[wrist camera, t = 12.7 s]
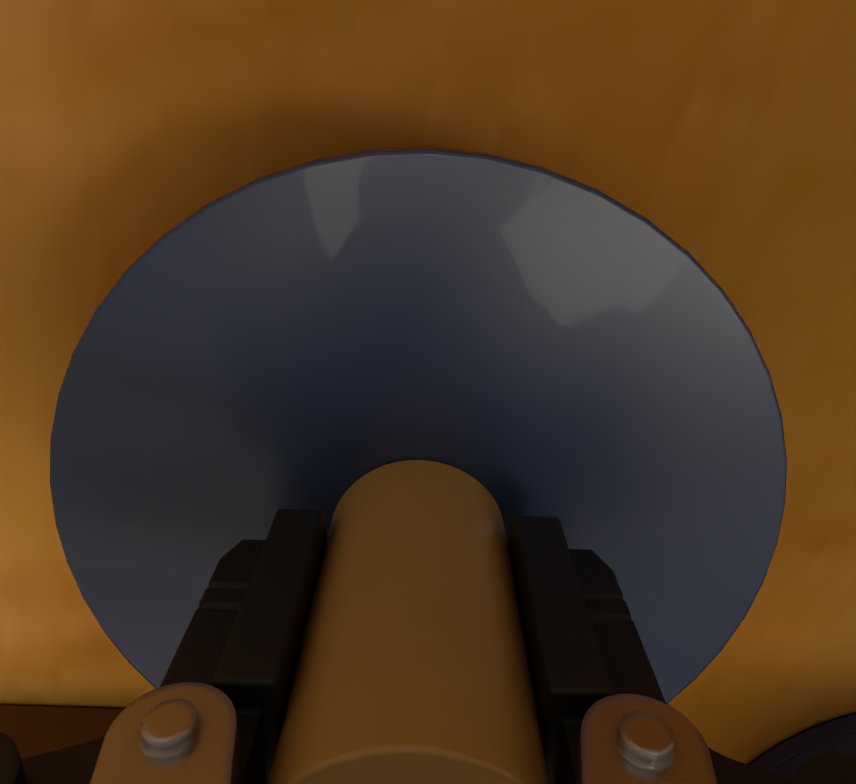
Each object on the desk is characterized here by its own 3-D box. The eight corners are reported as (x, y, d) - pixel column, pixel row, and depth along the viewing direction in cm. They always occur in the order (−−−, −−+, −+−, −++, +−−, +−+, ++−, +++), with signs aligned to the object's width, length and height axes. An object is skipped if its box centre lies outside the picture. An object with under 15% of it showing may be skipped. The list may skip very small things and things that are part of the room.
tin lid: (18, 131, 10) (-607, 159, 4) (836, 158, 10) (1435, 225, 4) (132, 730, 15) (-74, 1157, 9) (689, 744, 15) (865, 1178, 9)
